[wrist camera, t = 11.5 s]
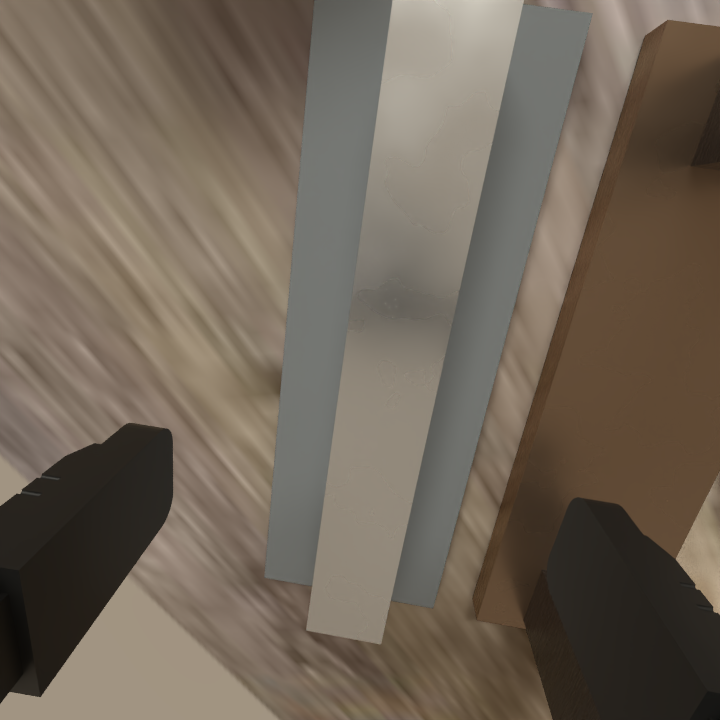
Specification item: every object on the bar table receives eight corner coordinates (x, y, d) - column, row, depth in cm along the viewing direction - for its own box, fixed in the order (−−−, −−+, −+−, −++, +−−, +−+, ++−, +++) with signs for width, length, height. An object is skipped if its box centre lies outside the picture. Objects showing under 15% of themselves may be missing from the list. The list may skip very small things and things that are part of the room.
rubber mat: (270, 561, 21) (264, 577, 20) (322, -8, 14) (316, -24, 13) (431, 590, 21) (433, 608, 20) (579, 27, 13) (593, 12, 12)
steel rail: (319, 570, 20) (306, 630, 17) (396, 29, 13) (395, -21, 10) (383, 582, 20) (381, 644, 17) (497, 42, 13) (524, -4, 10)
